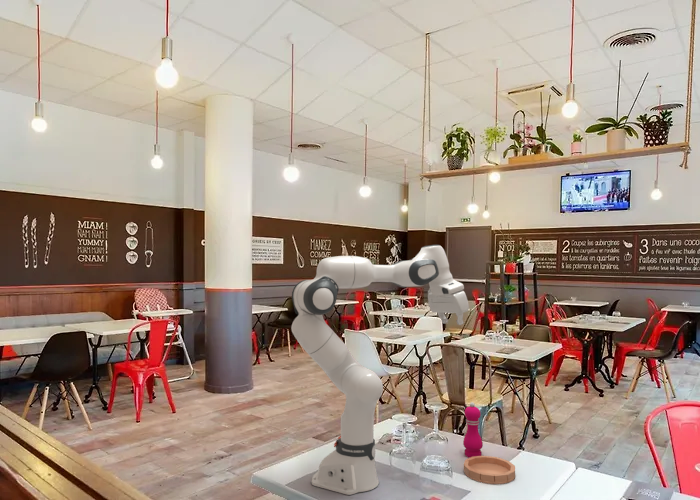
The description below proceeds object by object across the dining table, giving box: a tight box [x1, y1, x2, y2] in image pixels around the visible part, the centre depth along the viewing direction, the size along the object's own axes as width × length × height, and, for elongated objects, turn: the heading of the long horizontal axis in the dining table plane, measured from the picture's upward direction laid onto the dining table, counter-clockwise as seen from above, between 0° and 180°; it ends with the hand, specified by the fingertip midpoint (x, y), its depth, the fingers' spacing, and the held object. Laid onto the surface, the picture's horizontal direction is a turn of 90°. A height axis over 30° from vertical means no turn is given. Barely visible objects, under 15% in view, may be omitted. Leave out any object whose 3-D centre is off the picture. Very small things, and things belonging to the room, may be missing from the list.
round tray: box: [463, 455, 516, 485], centre depth 170 cm, size 17×17×3 cm
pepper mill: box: [462, 401, 484, 458], centre depth 187 cm, size 7×7×20 cm
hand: (452, 323), depth 178 cm, fingers open, 8 cm apart
